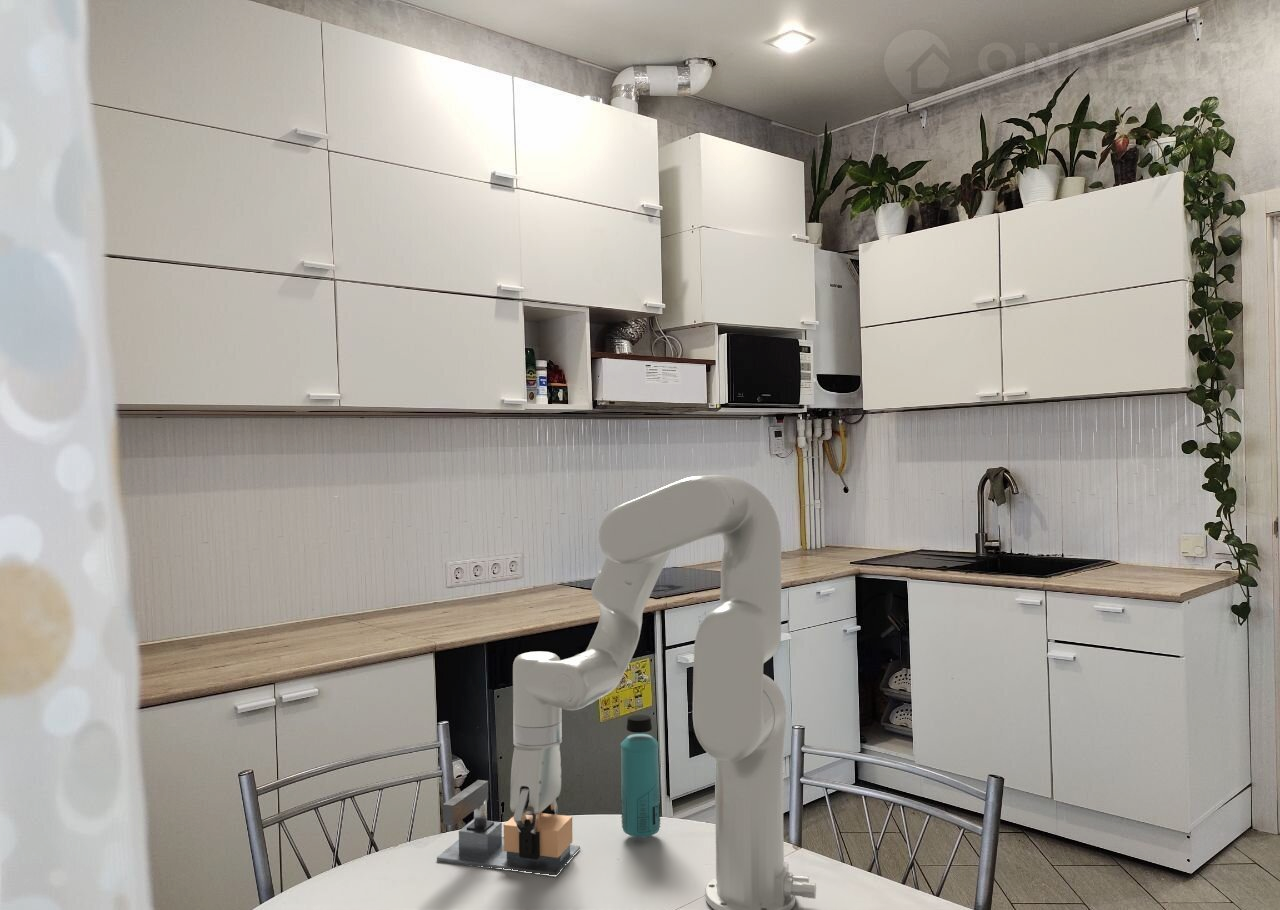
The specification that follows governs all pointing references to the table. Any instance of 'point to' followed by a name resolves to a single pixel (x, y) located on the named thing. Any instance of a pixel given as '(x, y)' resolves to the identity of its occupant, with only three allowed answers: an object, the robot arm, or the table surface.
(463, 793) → the t key
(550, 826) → the cover
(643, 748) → the beverage bottle
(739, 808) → the robot arm
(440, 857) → the latch base
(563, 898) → the table surface
